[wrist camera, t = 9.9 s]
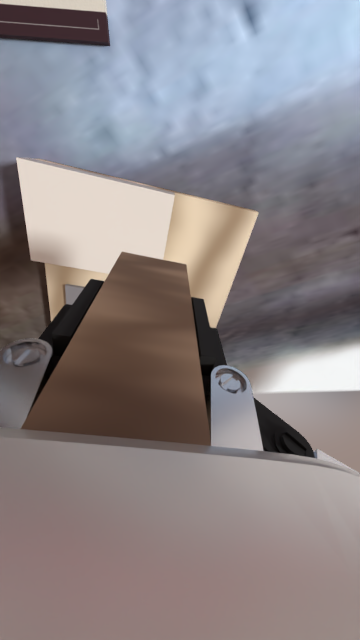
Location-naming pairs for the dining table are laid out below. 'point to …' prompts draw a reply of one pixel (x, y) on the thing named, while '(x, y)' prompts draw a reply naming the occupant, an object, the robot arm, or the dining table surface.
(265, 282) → the dining table surface
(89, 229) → the tile
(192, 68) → the dining table surface
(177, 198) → the board
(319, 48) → the dining table surface
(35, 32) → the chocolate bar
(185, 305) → the brown wooden block
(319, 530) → the robot arm
